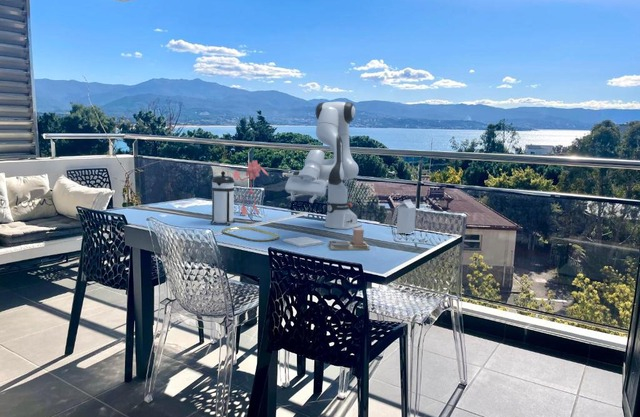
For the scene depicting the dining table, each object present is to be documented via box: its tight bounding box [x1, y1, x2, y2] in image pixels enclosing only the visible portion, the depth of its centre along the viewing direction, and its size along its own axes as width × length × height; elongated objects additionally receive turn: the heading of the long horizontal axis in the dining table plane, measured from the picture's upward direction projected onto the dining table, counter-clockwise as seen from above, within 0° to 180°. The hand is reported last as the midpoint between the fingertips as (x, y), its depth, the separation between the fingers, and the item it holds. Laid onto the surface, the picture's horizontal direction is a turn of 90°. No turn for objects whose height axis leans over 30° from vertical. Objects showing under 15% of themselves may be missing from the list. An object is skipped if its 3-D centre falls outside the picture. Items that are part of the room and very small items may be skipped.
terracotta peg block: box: [352, 228, 365, 245], centre depth 235 cm, size 4×4×9 cm
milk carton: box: [396, 198, 417, 234], centre depth 272 cm, size 7×7×19 cm
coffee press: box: [210, 171, 236, 226], centre depth 281 cm, size 17×16×30 cm
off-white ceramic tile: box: [282, 236, 324, 248], centre depth 242 cm, size 14×14×1 cm
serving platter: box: [222, 226, 280, 242], centre depth 255 cm, size 19×35×2 cm, turn 48°
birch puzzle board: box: [327, 240, 370, 251], centre depth 235 cm, size 9×18×3 cm, turn 99°
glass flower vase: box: [233, 160, 269, 218], centre depth 310 cm, size 15×26×35 cm, turn 140°
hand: (301, 201), depth 235 cm, fingers open, 8 cm apart
